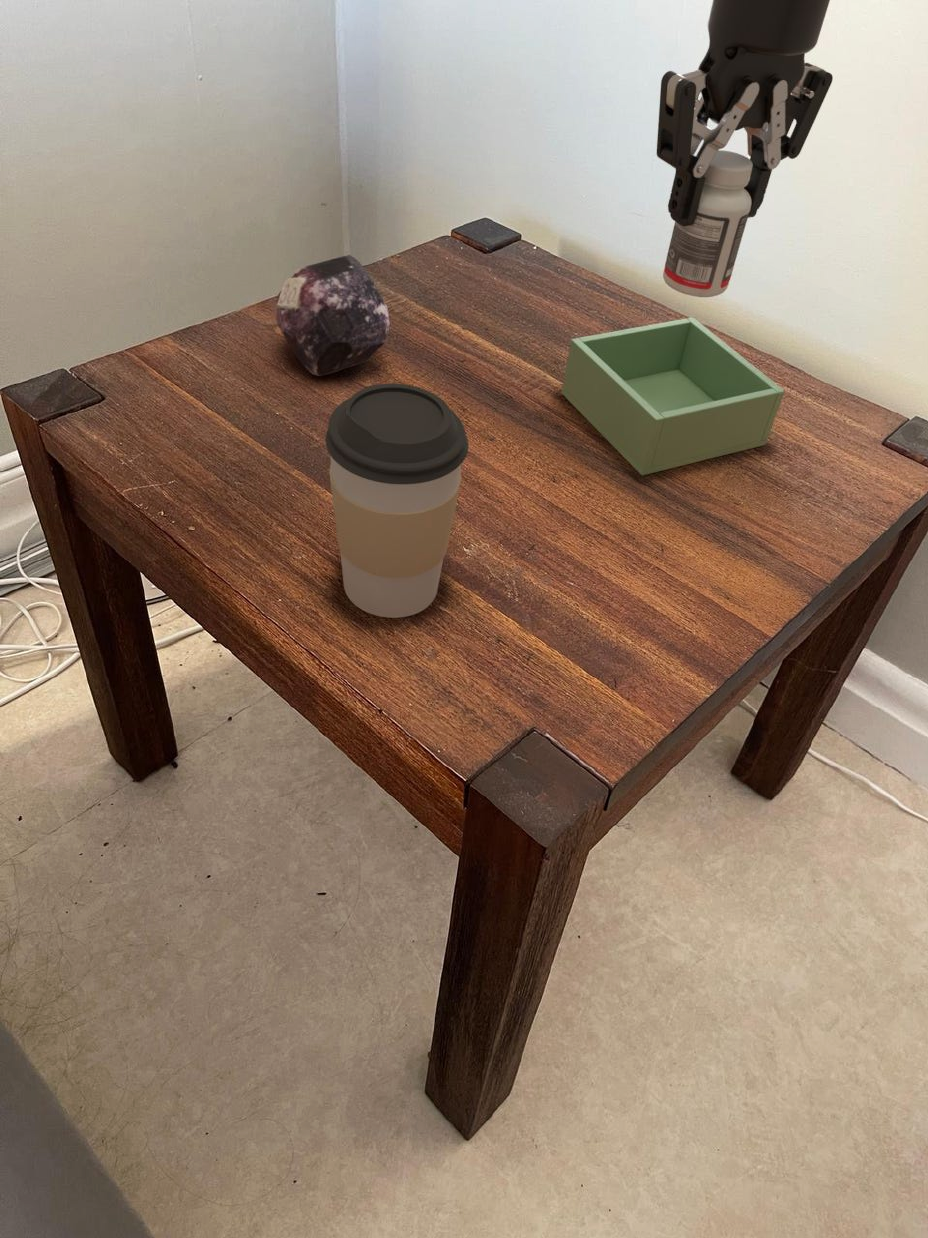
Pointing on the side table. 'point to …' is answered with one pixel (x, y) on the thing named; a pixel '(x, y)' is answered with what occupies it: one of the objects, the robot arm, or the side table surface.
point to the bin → (670, 394)
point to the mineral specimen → (332, 315)
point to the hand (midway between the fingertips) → (712, 216)
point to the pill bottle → (712, 230)
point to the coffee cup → (394, 494)
